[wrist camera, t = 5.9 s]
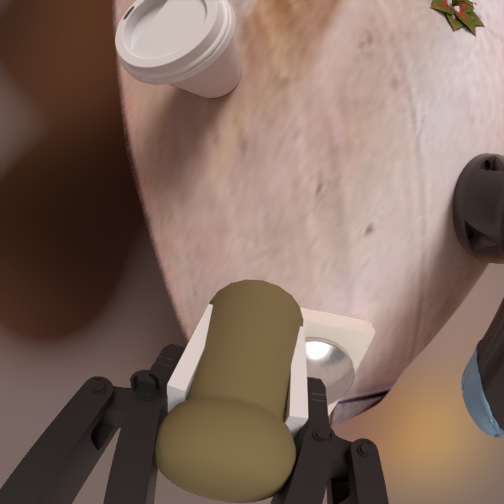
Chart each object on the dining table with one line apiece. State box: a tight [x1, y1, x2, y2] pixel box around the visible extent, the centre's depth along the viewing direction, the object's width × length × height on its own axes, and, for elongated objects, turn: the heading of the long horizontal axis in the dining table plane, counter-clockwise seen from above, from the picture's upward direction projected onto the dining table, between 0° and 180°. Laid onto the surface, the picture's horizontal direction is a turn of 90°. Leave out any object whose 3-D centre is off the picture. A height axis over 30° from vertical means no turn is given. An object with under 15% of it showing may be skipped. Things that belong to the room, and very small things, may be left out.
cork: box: [155, 280, 303, 503], centre depth 12 cm, size 6×6×11 cm
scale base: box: [300, 308, 376, 416], centre depth 37 cm, size 15×19×4 cm
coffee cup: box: [115, 0, 242, 98], centre depth 20 cm, size 10×10×15 cm
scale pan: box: [305, 337, 355, 405], centre depth 33 cm, size 13×13×1 cm
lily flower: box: [431, 0, 485, 36], centre depth 16 cm, size 12×12×5 cm
